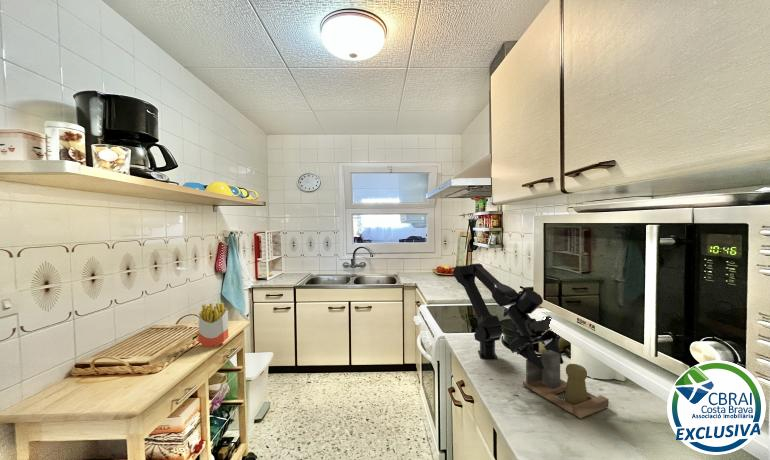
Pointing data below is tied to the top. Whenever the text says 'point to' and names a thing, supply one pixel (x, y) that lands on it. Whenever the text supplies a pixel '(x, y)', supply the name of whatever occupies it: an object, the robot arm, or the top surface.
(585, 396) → the tan rounded peg
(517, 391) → the top surface
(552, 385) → the wooden shape sorter tray
